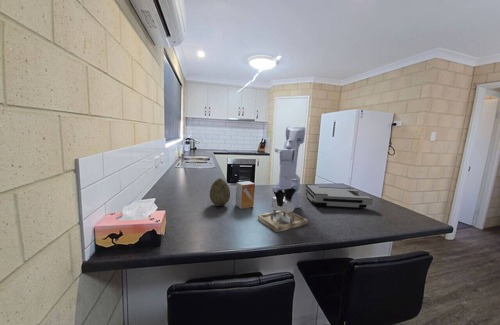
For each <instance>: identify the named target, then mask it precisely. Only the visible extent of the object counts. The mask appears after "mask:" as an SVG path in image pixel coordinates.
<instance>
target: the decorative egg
mask: <svg viewBox="0 0 500 325" xmlns="http://www.w3.org/2000/svg"><path fill="white" fill-rule="evenodd" d="M209 199H210V201H211V203H212V204H213V205H215V206H217V207H223V206H225V205H227V203H229V200H230V199H231V190H230V187H229V184H228V183H227V181H226V180H225V179H224V178H221V177H219V178H217V179H216V180H215V181H214V182H213V183H212V185H211V187H210V191H209Z"/></svg>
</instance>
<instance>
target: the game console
mask: <svg viewBox="0 0 500 325" xmlns="http://www.w3.org/2000/svg"><path fill="white" fill-rule="evenodd" d="M304 189H305V190H304V191H305V195H306V196H307V198H308V199H309V200H310V201H311V203H313V204H314V206H316V207H317V208H321V209H322V208H323V209H338V210H339V209H340V210H359V211H362V210H363V208H367V206H373V201H374V199H373V198H371V197H370V196H367V195H365V196H364V195H360V194H359V190H357V189H356V188H349V187H330V186H329V187H327V186H319V185H317V184H307V183H306V184H305V188H304Z"/></svg>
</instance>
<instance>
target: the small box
mask: <svg viewBox="0 0 500 325" xmlns="http://www.w3.org/2000/svg"><path fill="white" fill-rule="evenodd" d="M255 188H256V183H254V182H252V181H250V180H246V181H245V180H244V181H238V182H236V187H235V189H236V190H235V207H238V208H239V209H241V210H242V209H247V208H253V207H254V206H255V205H254V203H255V192H256V190H255Z"/></svg>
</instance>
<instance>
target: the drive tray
mask: <svg viewBox="0 0 500 325" xmlns="http://www.w3.org/2000/svg"><path fill="white" fill-rule="evenodd" d="M257 220H258V221H259V222H260V223H262V224H264V225H265V226H267V227H268V228H269V229H271V230H272V231H273V232H275V233H281V232H283V231H284V232H285V231H287V230H290V229H294V228H297V227H301V226H305V225H308V219H307V218H305V217H303V216H301V215H299V214H297V213H295V212H294V211H292V212H289V213H285V212H283V211H281V210H277V209H276V208H274V209H273V211H271V212H266V213H261V214H258V215H257Z"/></svg>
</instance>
